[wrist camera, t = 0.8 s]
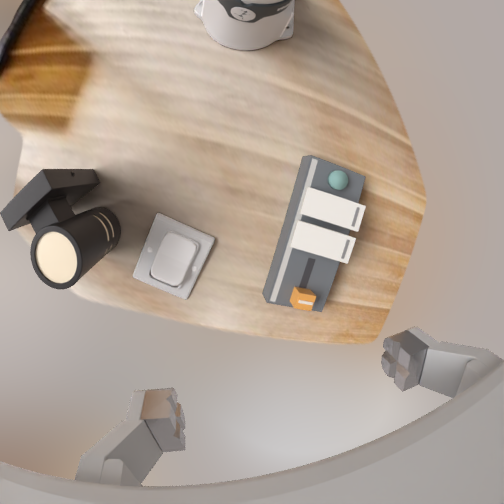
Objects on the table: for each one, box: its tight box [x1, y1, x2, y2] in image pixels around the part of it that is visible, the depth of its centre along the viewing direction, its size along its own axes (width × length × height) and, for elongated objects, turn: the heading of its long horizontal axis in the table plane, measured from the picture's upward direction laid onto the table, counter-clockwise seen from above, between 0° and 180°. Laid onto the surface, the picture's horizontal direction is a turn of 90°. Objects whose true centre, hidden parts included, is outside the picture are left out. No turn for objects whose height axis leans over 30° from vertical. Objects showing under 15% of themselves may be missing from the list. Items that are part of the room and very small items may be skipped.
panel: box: [262, 155, 365, 312], centre depth 50 cm, size 26×11×5 cm, turn 164°
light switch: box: [133, 213, 215, 300], centre depth 48 cm, size 11×4×13 cm
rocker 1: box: [299, 187, 366, 232], centre depth 45 cm, size 4×10×2 cm, turn 74°
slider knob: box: [290, 287, 316, 311], centre depth 49 cm, size 3×3×3 cm
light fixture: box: [0, 169, 121, 289], centre depth 36 cm, size 10×14×18 cm
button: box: [328, 171, 348, 190], centre depth 45 cm, size 3×3×1 cm
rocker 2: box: [290, 220, 356, 264], centre depth 46 cm, size 4×10×2 cm, turn 74°
